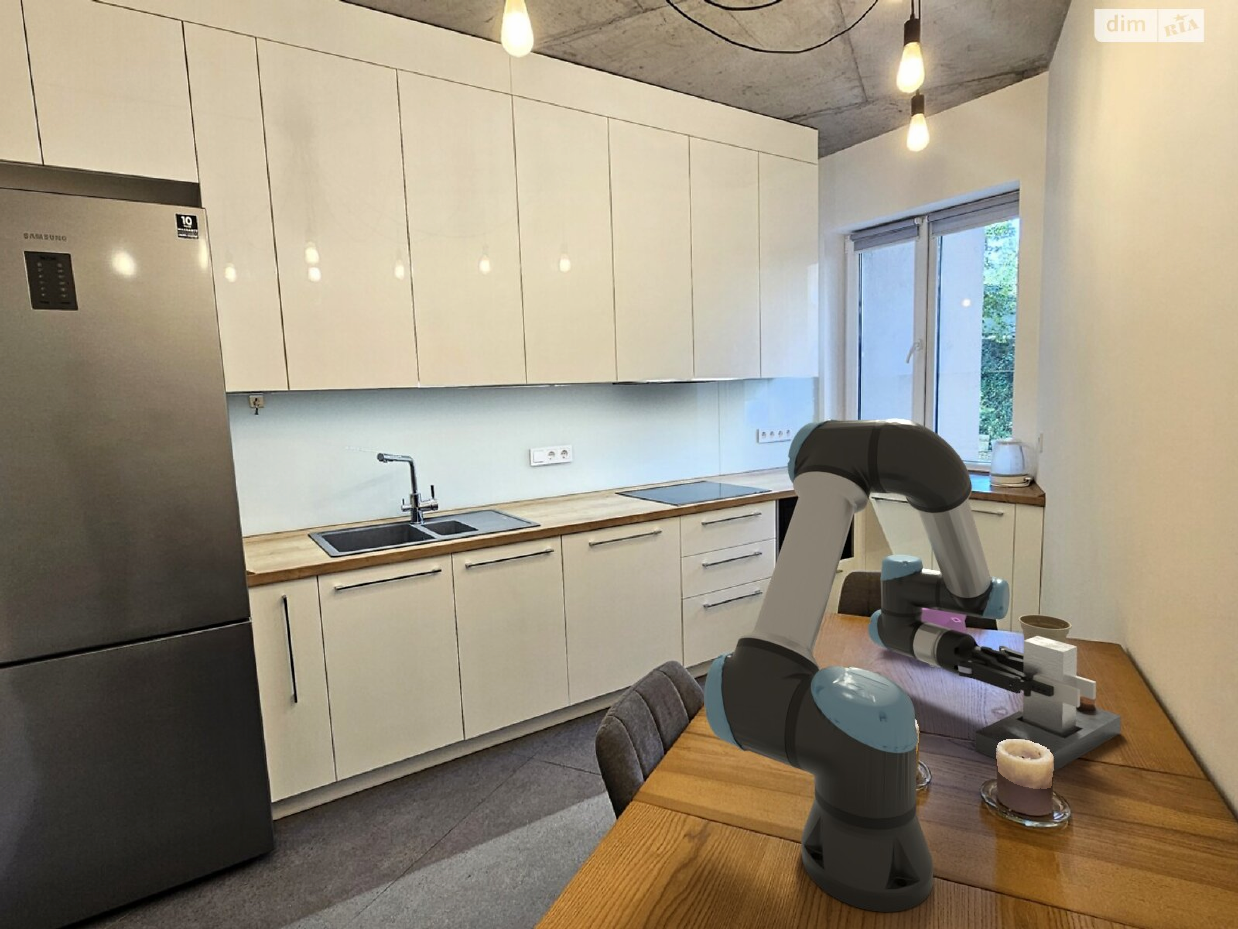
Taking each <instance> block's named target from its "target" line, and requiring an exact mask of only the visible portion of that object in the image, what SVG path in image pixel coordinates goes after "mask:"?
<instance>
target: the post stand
mask: <svg viewBox="0 0 1238 929" xmlns="http://www.w3.org/2000/svg"><path fill="white" fill-rule="evenodd" d="M1096 703H1097V697H1096V698H1095V699H1090V698H1087V697H1084V696H1081V695H1080V706H1079V707H1076V733H1074V734H1072V735H1070V736H1069V737H1067V738H1062V737H1060V736H1057V735H1055V734H1052V733H1050V732H1047V731H1045V730H1042V729H1039V728H1037V727H1034V726H1032V725H1029V724H1027V723H1024V722H1023V709H1020V710H1018V711H1016V712H1015V713H1012V714H1010V715H1008V716H1006V717H1004V718H1002V719H1000V720H997V721H995V722H993V723H991V724H988V725H987V726H985V727H982V728H980V729H978V730H976V731H974V750H975V751H976V752H980V754H981V753H982V754H983V755H985V756H988V757H990V758H992V757H993V758H992V759H995V760H996V748H997V745H998V743H999V742H1001V741H1003V740H1006V739H1025V740H1030V741H1032V742H1034V743H1039V744H1040V745H1042V746H1045V747H1047V749H1050V752H1051V753H1052V754H1053V756H1054V772H1056V771H1058V770H1060V769H1061V768H1063V767H1064V766H1066V765H1068V764H1070V763H1072V762H1073V761H1075V760H1077V759H1079V758H1080V757H1082V756H1084V755H1085V754H1087V753H1089V752H1091V751H1092V750H1094V749H1096V748H1097V747H1100V746H1101V745H1103V744H1104V743H1106V742H1108V741H1110V740H1112V739H1113V738H1115V737H1117V736H1118V735H1121V730H1122V729H1121V727H1122V715H1119V714H1117V713H1113V712H1111V711H1108V710H1105V709H1101V708H1098V707H1097V704H1096ZM1114 736H1115V737H1114Z"/></svg>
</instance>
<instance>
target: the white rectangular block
mask: <svg viewBox="0 0 1238 929" xmlns="http://www.w3.org/2000/svg"><path fill="white" fill-rule="evenodd" d="M1023 653H1024V663H1023V673H1025V674H1027V675H1029V676H1031V679H1033V676H1034V675H1037V676H1041V677H1044V678H1047V679H1050V680H1053V681H1056V682H1059V683H1062V684H1065V685H1069V686H1072V687H1075V688H1076V678H1077V676H1078V675H1077V674H1078V668H1077V667H1078V646H1077V645H1074V644H1073V645H1072V644H1069V643H1066V642H1065V643H1062V642H1058V641H1055V640H1051V639H1047V638H1044V637H1040V636H1035V637H1033V638H1030V639H1027V640H1025V641H1024V640H1023ZM1022 695H1023V696H1022V710H1023V722H1024V723H1027V724H1029V725H1032V726H1034V727H1037V728H1039V729H1042V730H1045V731H1047V732H1050V733H1052V734H1055V735H1057V736H1060V737H1062V738H1067V737H1069V736H1070V735H1072V734H1074V733H1076V707H1075V706H1072V705H1069V704H1066V703H1063V702H1060V701H1057V700H1054V699H1051V698H1049V697H1046V696H1043V695H1040V694H1037V693H1034V692H1033V691H1031V696H1030V697H1027V696H1024V691H1023V692H1022Z"/></svg>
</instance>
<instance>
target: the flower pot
mask: <svg viewBox="0 0 1238 929" xmlns="http://www.w3.org/2000/svg"><path fill="white" fill-rule="evenodd" d="M1017 619H1018V622H1019V623H1020V627H1021V629H1022V635H1023V642H1024V641H1025V640H1027V639H1030V638H1033V637H1035V636H1040V637H1044V638H1047V639H1051V640H1055V641H1058V642H1062V643H1066V640H1067V636H1068V634H1069V632H1070V630H1071V629H1072V626H1073V624H1072V623H1070V622H1069V621H1068V620H1066V619H1063V618H1059V617H1056V616H1052V615H1051V616H1050V615H1046V614H1045V615H1044V614H1023V615H1020V616H1019V617H1018V618H1017Z"/></svg>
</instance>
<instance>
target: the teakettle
mask: <svg viewBox="0 0 1238 929" xmlns="http://www.w3.org/2000/svg"><path fill="white" fill-rule="evenodd" d="M967 616H968V615H963V614H957V613H951V612H945V611H939V610H932V609H926V608H922V620H923V621H925V622H929V623H933V624H936V625H940V626H943V627H947V628H949V629H951V630H956V631H959V632H963V633H966V634H967V627H966V622H965V620H966V618H967Z"/></svg>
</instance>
